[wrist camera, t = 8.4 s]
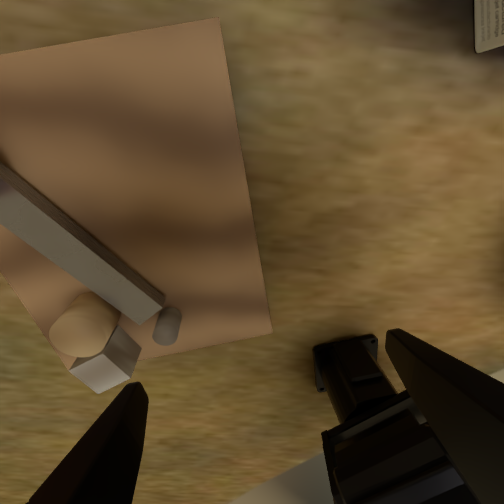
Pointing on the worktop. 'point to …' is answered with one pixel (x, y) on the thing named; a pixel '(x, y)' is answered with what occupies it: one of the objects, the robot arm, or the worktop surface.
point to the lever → (74, 249)
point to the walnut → (84, 326)
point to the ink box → (488, 24)
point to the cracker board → (137, 186)
